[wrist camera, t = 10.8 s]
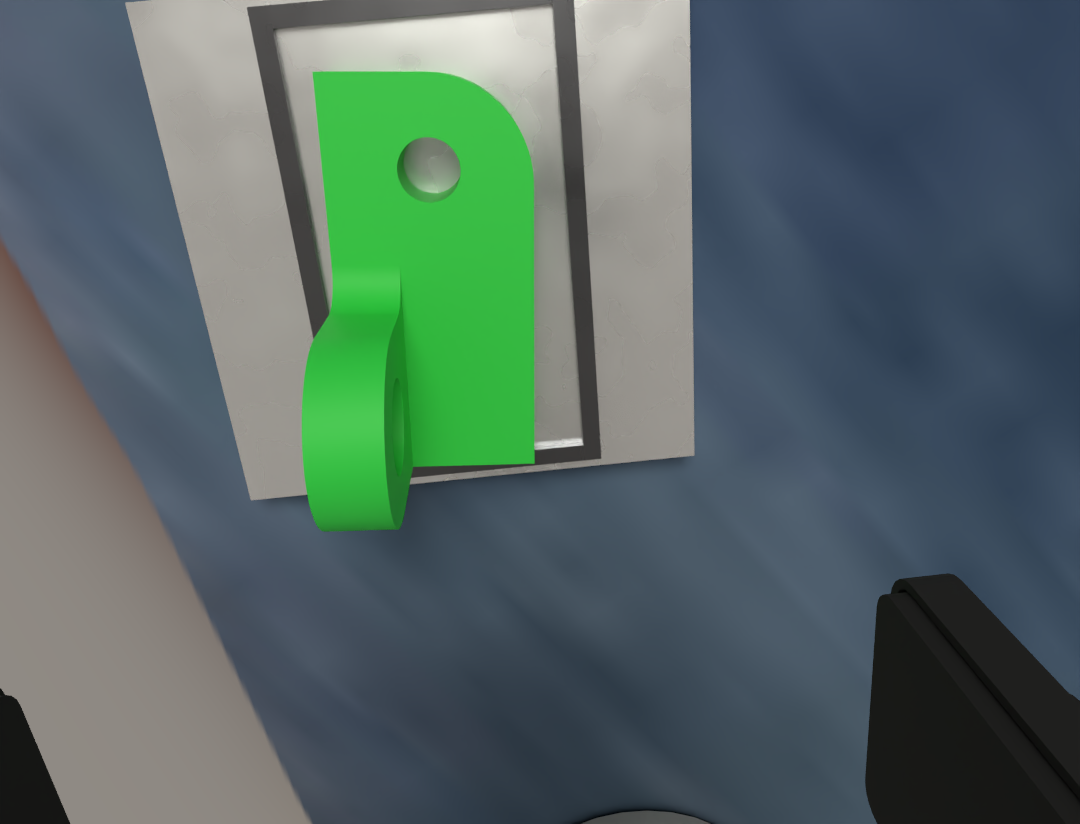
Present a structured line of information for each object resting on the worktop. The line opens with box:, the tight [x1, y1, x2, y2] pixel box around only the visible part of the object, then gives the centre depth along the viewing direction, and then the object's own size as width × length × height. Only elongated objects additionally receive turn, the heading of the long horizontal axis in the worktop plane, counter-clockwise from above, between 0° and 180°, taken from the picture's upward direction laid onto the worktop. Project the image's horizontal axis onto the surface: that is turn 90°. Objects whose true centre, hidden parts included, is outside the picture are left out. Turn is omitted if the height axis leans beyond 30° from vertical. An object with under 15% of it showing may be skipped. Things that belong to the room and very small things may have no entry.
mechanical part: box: [302, 71, 535, 532], centre depth 23 cm, size 12×6×8 cm, turn 0°
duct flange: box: [125, 0, 694, 500], centre depth 27 cm, size 16×16×2 cm
